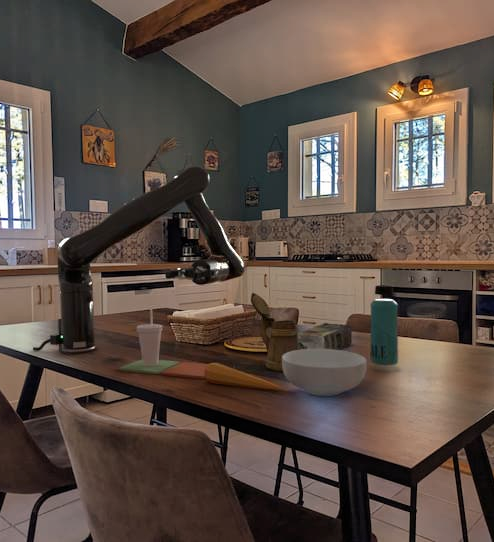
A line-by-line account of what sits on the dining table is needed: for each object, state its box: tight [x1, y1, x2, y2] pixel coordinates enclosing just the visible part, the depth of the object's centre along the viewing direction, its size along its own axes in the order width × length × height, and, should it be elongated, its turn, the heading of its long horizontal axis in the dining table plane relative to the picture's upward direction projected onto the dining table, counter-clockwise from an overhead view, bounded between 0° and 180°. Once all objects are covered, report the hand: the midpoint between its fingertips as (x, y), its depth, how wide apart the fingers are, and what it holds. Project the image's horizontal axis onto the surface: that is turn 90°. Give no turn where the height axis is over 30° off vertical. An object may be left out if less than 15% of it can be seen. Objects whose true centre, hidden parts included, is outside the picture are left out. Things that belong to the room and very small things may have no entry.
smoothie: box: [136, 308, 163, 366], centre depth 126 cm, size 6×6×14 cm
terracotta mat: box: [160, 361, 209, 380], centre depth 122 cm, size 11×11×1 cm
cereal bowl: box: [282, 349, 367, 397], centre depth 104 cm, size 17×17×7 cm
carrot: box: [204, 362, 290, 392], centre depth 108 cm, size 20×4×4 cm, turn 61°
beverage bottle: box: [369, 284, 399, 366], centre depth 121 cm, size 6×7×20 cm
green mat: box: [117, 358, 181, 375], centre depth 127 cm, size 11×11×1 cm
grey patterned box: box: [298, 322, 353, 350], centre depth 145 cm, size 20×10×6 cm, turn 145°
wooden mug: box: [250, 292, 300, 372], centre depth 125 cm, size 9×14×18 cm, turn 57°
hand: (180, 274), depth 140 cm, fingers open, 8 cm apart
